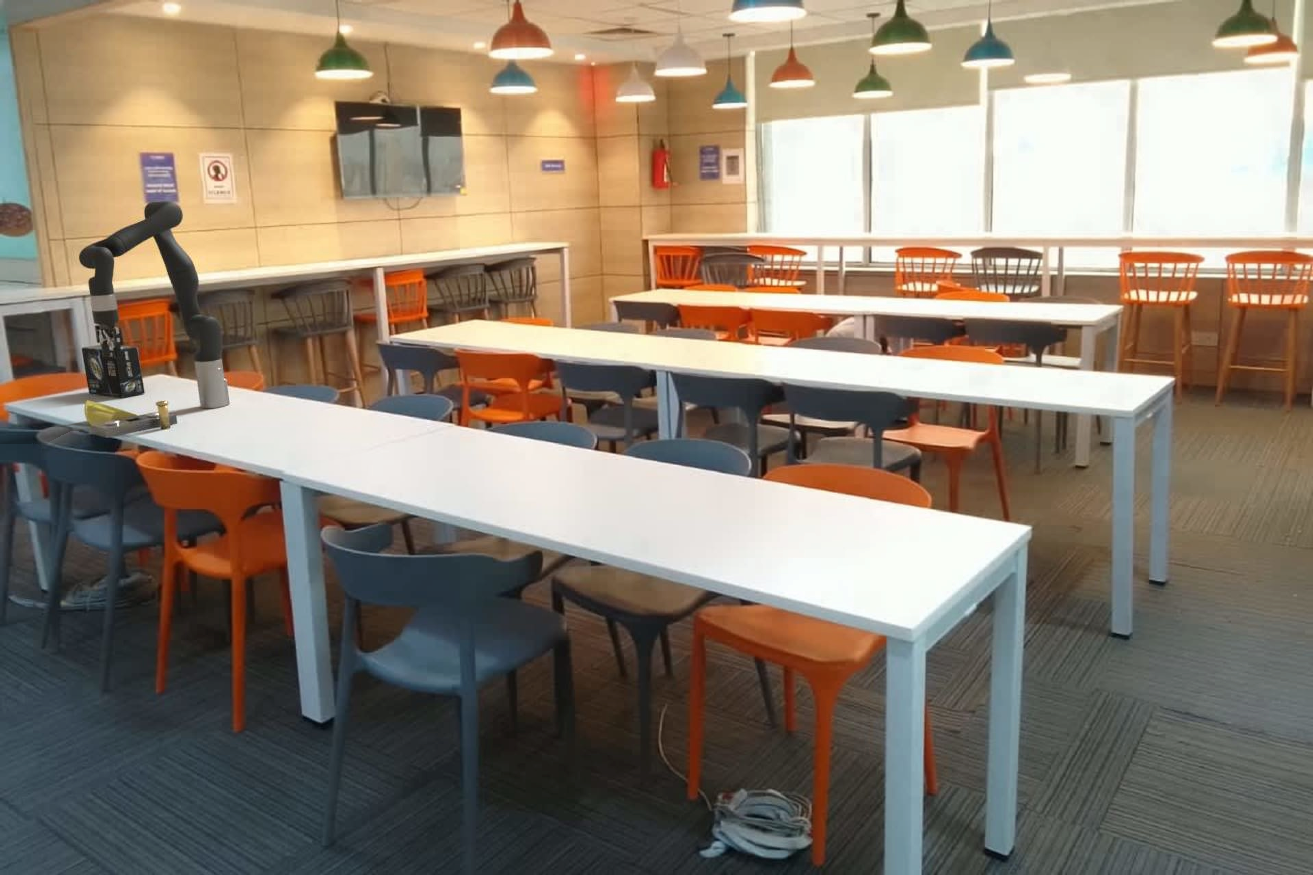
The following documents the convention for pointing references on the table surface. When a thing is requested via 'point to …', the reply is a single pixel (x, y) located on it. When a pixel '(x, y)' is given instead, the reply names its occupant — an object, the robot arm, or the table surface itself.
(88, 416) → the plastic component
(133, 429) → the grey slotted plate
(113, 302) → the robot arm
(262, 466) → the table surface
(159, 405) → the pin
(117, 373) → the box
